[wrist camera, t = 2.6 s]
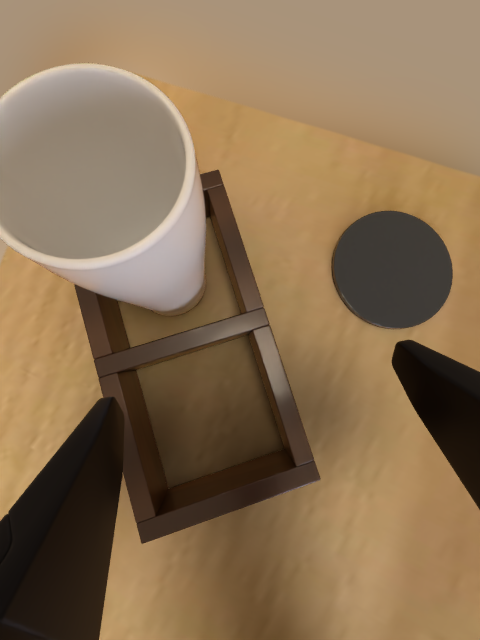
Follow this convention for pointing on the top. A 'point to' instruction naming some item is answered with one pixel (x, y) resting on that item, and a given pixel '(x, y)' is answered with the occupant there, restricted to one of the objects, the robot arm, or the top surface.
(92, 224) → the white tumbler
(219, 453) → the top surface
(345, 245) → the coaster
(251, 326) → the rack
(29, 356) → the top surface
